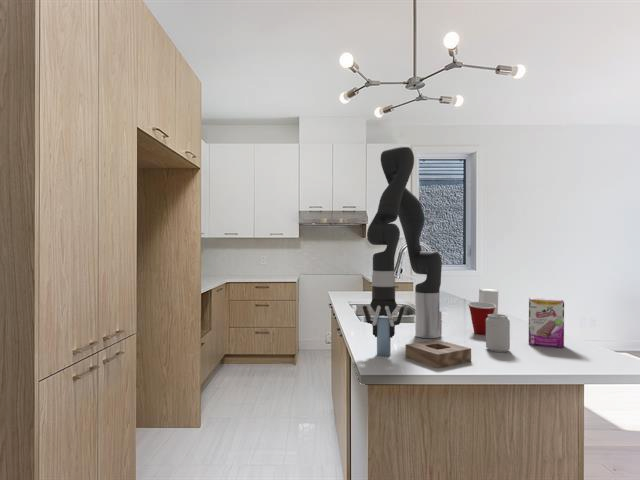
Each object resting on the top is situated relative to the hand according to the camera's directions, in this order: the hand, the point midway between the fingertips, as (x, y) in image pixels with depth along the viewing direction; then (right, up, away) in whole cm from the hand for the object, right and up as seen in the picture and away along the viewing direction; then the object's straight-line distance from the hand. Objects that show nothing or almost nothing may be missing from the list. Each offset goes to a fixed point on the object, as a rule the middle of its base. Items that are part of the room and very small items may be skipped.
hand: (383, 336), depth 138 cm
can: (+40, -6, +5) cm, 40 cm away
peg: (0, -6, 0) cm, 6 cm away
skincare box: (+55, -6, +53) cm, 76 cm away
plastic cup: (+45, -6, +33) cm, 56 cm away
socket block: (+16, -6, -6) cm, 18 cm away
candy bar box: (+60, -6, +13) cm, 61 cm away
